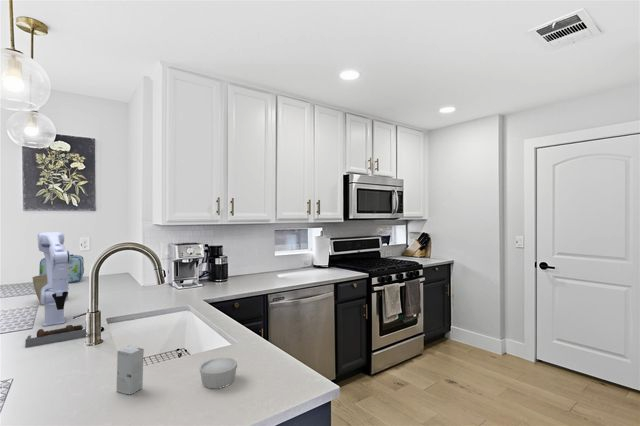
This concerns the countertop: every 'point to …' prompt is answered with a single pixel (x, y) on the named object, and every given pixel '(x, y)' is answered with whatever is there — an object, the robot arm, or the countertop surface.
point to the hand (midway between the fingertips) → (60, 309)
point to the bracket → (54, 338)
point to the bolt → (59, 330)
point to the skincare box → (129, 369)
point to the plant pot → (39, 284)
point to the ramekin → (218, 372)
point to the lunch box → (73, 268)
